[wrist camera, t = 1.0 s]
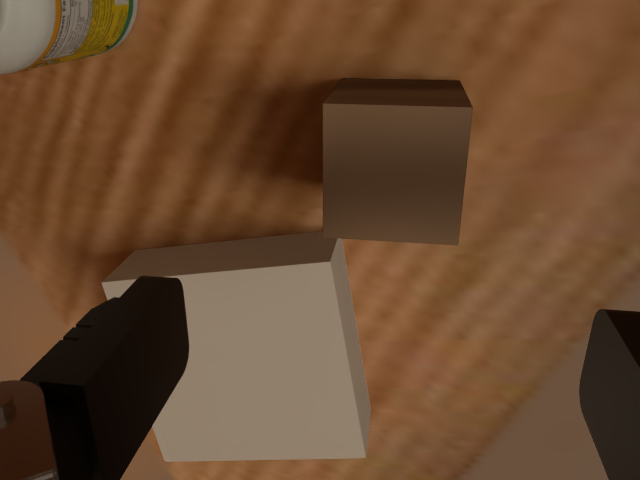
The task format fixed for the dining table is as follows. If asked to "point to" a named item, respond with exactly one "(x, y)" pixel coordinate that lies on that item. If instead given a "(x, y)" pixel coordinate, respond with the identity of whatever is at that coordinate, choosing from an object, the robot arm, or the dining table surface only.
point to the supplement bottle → (60, 30)
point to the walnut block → (395, 160)
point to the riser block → (261, 350)
